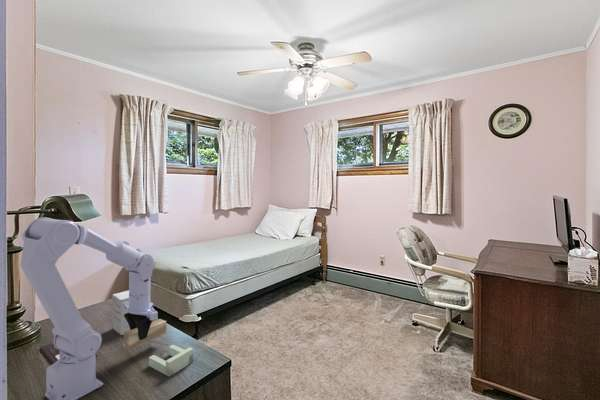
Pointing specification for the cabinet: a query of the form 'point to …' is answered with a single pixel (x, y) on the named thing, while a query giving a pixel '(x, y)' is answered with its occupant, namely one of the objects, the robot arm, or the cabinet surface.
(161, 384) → the cabinet surface
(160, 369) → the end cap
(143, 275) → the robot arm
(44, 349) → the chocolate bar
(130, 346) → the tan wooden block
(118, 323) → the supplement box
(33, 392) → the cabinet surface
